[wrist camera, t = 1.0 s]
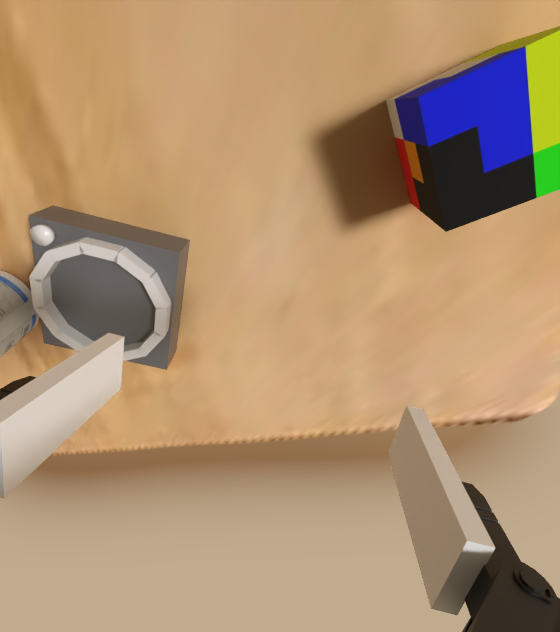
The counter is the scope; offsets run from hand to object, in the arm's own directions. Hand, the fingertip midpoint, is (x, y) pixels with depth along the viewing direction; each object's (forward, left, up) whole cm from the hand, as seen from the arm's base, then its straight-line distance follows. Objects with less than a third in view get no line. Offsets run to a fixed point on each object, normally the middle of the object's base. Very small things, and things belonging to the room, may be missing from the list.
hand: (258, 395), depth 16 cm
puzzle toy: (-13, +13, -26) cm, 32 cm away
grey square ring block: (+12, -17, -26) cm, 33 cm away
